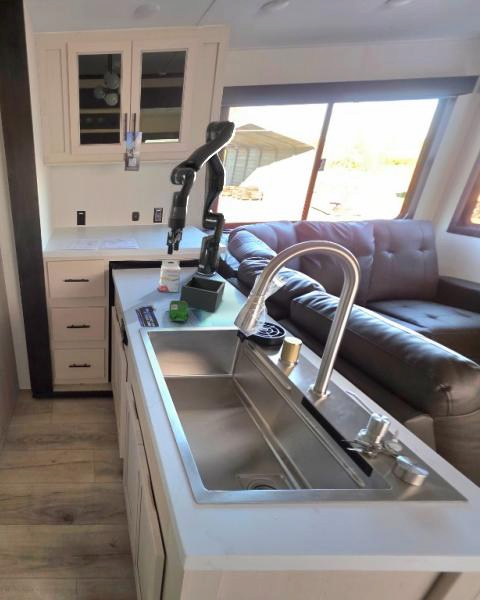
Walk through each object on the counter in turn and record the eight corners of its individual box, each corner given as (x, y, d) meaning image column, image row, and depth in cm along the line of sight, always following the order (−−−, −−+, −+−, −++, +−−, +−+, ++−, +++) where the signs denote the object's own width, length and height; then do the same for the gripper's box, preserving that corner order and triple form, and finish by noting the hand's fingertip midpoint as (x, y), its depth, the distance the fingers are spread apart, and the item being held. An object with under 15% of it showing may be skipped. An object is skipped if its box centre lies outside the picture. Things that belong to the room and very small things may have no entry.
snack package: (168, 325, 120) (169, 312, 118) (168, 307, 134) (170, 296, 132) (187, 327, 119) (189, 315, 116) (186, 310, 132) (188, 298, 130)
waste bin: (189, 293, 149) (192, 275, 146) (221, 300, 142) (225, 281, 138) (179, 304, 137) (181, 285, 134) (214, 312, 130) (217, 293, 126)
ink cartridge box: (159, 291, 151) (163, 262, 145) (158, 287, 155) (161, 259, 149) (178, 292, 150) (182, 262, 144) (176, 288, 154) (180, 259, 149)
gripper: (181, 219, 131) (176, 257, 138) (190, 215, 142) (185, 250, 149) (163, 217, 135) (159, 254, 141) (174, 213, 146) (170, 248, 152)
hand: (172, 252), depth 145 cm, fingers open, 8 cm apart
